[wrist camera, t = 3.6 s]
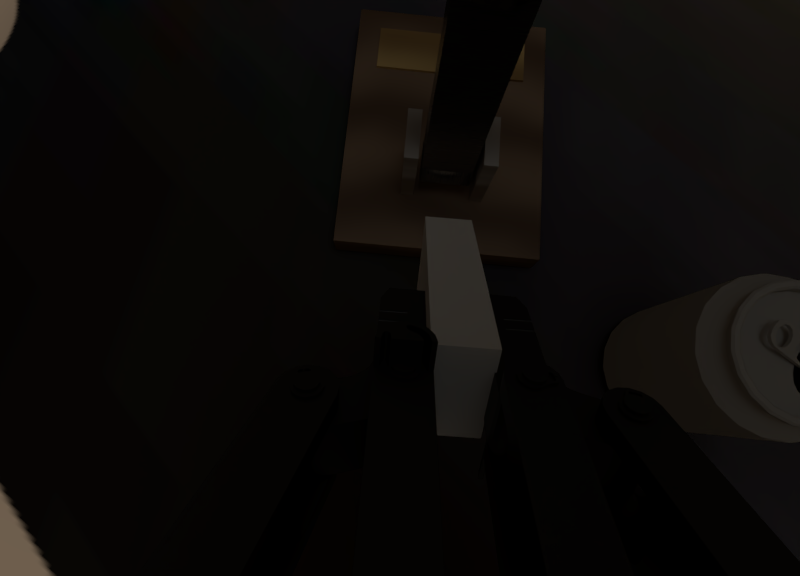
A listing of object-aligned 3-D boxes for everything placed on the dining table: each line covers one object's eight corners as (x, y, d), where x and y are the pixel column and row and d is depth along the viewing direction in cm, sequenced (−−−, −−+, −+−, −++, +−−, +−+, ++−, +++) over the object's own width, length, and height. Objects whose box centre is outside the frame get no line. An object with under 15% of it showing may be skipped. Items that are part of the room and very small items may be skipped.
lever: (467, 197, 31) (635, -197, 11) (416, 192, 31) (486, -214, 11) (469, 151, 32) (632, -305, 11) (420, 146, 32) (493, -321, 11)
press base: (530, 267, 33) (568, 234, 27) (336, 249, 33) (324, 210, 26) (537, 47, 37) (572, -32, 30) (362, 29, 37) (358, -54, 30)
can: (675, 454, 31) (852, 487, 19) (574, 380, 32) (687, 369, 20) (731, 357, 33) (928, 334, 21) (634, 289, 33) (771, 229, 22)
